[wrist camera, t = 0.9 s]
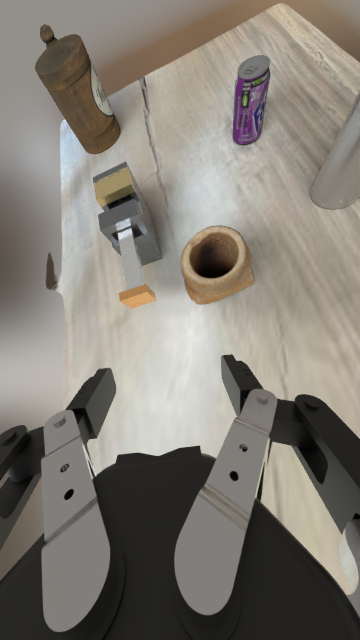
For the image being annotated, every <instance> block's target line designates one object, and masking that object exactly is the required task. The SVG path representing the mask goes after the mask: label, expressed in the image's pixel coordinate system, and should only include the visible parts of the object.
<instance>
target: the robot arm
mask: <svg viewBox="0 0 360 640" xmlns="http://www.w3.org/2000/svg"><path fill="white" fill-rule="evenodd" d="M310 196H311V199H312V200H313V202H314V203H315V204H317V205H318V206H320V207H323V208H327V209H340V208H344V207H347V206H349V205H351V204H353V203H354V202H355V201H356V200H357V199H358V198H359V197H360V91H359V93H358V96H357V98H356V100H355V102H354V104H353V106H352V108H351V110H350V112H349V114H348V116H347V118H346V120H345V122H344V124H343V126H342V128H341V130H340V132H339V134H338V136H337V138H336V140H335V142H334V144H333V146H332V148H331V150H330V152H329V154H328V156H327V158H326V160H325V162H324V164H323V166H322V168H321V169H320V171H319V173H318V175H317V177H316V179H315V181H314V184H313V186H312V188H311V190H310ZM221 368H222V379H223V383H224V385H225V388H226V390H227V393H228V395H229V398H230V400H231V403H232V405H233V408H234V410H235V412H236V415H237V417H238V418H237V417H236V418H235V419H234V421H233V423H232V425H231V428H230V430H229V432H228V434H227V437H226V439H225V441H224V443H223V446H222V448H221V450H220V452H219V455H218V457H217V459H216V458H214V457H212V456H210V455H207V454H203V453H201V450H200V446H193V447H184V448H178V449H176V450H173V451H171V452H168V453H166V454H163V455H161V456H154V455H148V454H143V453H131V454H122V455H118V456H117V460H116V463H115V464H113V465H111V466H109V467H107V468H106V469H104V470H103V471H101V472H100V473H99V474H96V471H95V468H94V465H93V462H92V459H91V456H90V452H89V449H88V446H87V442H88V440H89V439H95V438H97V437H98V434H99V432H100V430H101V427H102V425H103V422H104V420H105V418H106V415H107V413H108V411H109V408H110V406H111V403H112V401H113V399H114V396H115V394H116V384H115V381H114V377H113V373H112V370H111V368H103V369H98V370H97V372H96V373H95V375H94V376H93V377H91V378H89V379H88V380H87V381H86V382H85V383H84V384H83V386H82V387H81V389H80V390H79V391H78V393H77V394H76V395H75V397H74V398H73V400H72V401H71V403H70V404H69V405H68V407H67V408H66V410H64V411H61V412H59V413H57V414H56V415H54V416H52V417H51V418H50V419H49V420H48V421H47V422H46V423H45V425H44V426H43V427H40V428H37V429H34V430H31V431H28V429H27V428H26V426H24V425H20V426H16V427H13V428H11V429H9V430H7V431H5V432H4V433H2V434H1V435H0V480H1V479H2V478H3V476H4V475H5V473H7V475H8V476H9V477H8V479H7V480H6V482H5V483H4V485H3V486H2V487H1V489H0V550H1V548H2V546H3V545H4V543H5V541H6V539H7V537H8V536H9V534H10V532H11V530H12V528H13V526H14V525H15V523H16V521H17V519H18V517H19V515H20V514H21V512H22V510H23V508H24V507H25V505H26V503H27V501H28V499H29V497H30V495H31V494H32V492H33V490H34V488H35V487H36V485H37V483H38V481H39V479H40V478H41V476H42V492H43V514H44V533H43V534H42V536H41V537H40V538H39V539H38V540H37V541H36V542H35V543H34V544H33V545H32V547H31V548H30V549H29V550H28V551H27V552H26V553H25V554H24V555H23V556H22V558H21V559H20V560H19V561H18V562H17V563H16V564H15V565H14V566H13V568H12V569H11V570H10V571H9V572H8V573H7V574H6V575H5V577H3V579H2V580H1V581H0V640H360V439H359V438H358V437H357V436H356V435H355V434H354V433H353V431H352V430H351V429H350V428H349V427H348V426H347V425H346V424H345V423H344V422H343V421H342V420H341V419H340V418H339V417H338V416H337V415H336V414H335V413H334V412H333V411H332V410H331V409H330V408H329V407H328V405H327V404H326V403H324V402H323V401H322V400H320V399H319V398H317V397H314V396H311V395H306V394H302V395H298V396H297V397H296V398H295V402H294V401H287V400H281V399H277V398H276V397H275V395H274V394H272V393H271V392H269V391H267V390H264V389H263V387H262V386H261V385H260V383H259V382H258V380H257V379H256V377H255V376H254V375H253V373H252V371H251V370H250V369H249V367H248V366H247V364H245V363H244V362H242V361H236V360H235V358H234V356H233V355H232V354H231V355H223V356H221ZM273 442H277V443H282V444H287V445H291V446H292V448H293V449H294V451H295V453H296V455H297V456H298V458H299V460H300V462H301V463H302V465H303V467H304V469H305V470H306V472H307V474H308V476H309V478H310V479H311V481H312V483H313V485H314V486H315V488H316V490H317V492H318V493H319V495H320V497H321V499H322V500H323V502H324V504H325V506H326V508H327V509H328V511H329V513H330V515H331V516H332V518H333V520H334V522H335V523H336V525H337V527H338V529H339V530H340V532H341V534H342V536H341V539H340V541H339V545H338V553H339V558H340V561H341V564H342V566H343V569H344V571H345V574H346V576H347V579H348V583H349V589H350V595H346V594H345V593H344V591H343V590H342V589H341V587H340V586H339V584H338V583H337V582H336V581H335V579H334V578H333V577H332V576H331V575H330V573H329V572H328V571H327V570H326V569H325V568H324V567H323V566H322V565H321V564H320V563H319V562H318V561H317V560H316V559H315V558H314V557H313V556H312V555H311V553H310V552H309V551H308V550H307V549H306V548H305V547H304V546H303V545H302V544H301V543H300V542H299V541H298V540H297V539H296V538H295V537H294V536H293V535H292V534H291V533H290V532H289V531H288V530H287V529H286V528H285V527H284V525H283V524H282V523H281V522H280V521H279V520H278V519H277V518H276V517H275V516H274V515H273V514H272V513H271V512H270V511H269V510H268V509H267V508H266V507H265V506H264V505H263V504H262V503H261V502H262V497H263V492H264V486H265V480H266V474H267V468H268V463H269V458H270V453H271V448H272V443H273Z"/></svg>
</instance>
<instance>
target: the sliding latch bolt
mask: <svg viewBox="0 0 360 640" xmlns="http://www.w3.org/2000/svg"><path fill="white" fill-rule="evenodd" d="M117 233H118V239H119V245H120V251H121V256H122V262H123V268H124V274H125V280H126V286H127V291H124V292H121V293H119V297H120V301H121V302H122V303H124V304H126V305H127V306H129V307H130V308H135V307H138V306H141V305H144V304H147V303H150V302H153V301H155V300H156V297H155V293H154V292H153V291H152V290H151V289H150V288H149V287H148V286H147V285H146V284H145V280H144V275H143V270H142V265H141V260H140V255H139V251H138V246H137V241H136V236H135V231H134V226H133V225H131V226H128V227H126V228H124V229H121V230H119V231H117Z"/></svg>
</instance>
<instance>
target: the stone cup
mask: <svg viewBox="0 0 360 640" xmlns="http://www.w3.org/2000/svg"><path fill="white" fill-rule="evenodd" d="M180 265H181V271H182V274H183V276H184V279H185V286H186V290H187V292H188V294H189V296H190V298H191V299H192V300H193V301H195V302H196V303H197V304H201V305H202V304H209V303H212V302H216V301H218V300H221V299H223V298H225V297H227V296H229V295H232V294H234V293H236V292H238V291H240V290H242V289H244V288H246V287H248V286H250V285H252V284H254V277H253V273H252V269H251V255H250V251H249V249H248V247H247V245H246V243H245V241H244V239H243V237H242V236H241V234H240V233H239V232H237V231H236V230H234V229H233V228H230V227H226V226H220V225H219V226H211V227H208V228H206V229H204V230H202V231H200V232H199V233H197V234H196V235H195V236H194V237H193V238H192V239H191V240H190V241H189V242H188V243H187V245H186V246H185V248H184V250H183V252H182V255H181V263H180Z"/></svg>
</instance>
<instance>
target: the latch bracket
mask: <svg viewBox="0 0 360 640" xmlns="http://www.w3.org/2000/svg"><path fill="white" fill-rule="evenodd" d="M93 183H94V187H95V194H96V201H97V202H98V203H99V204H100V206H101V207H102V208H103V210H104V211H105V212H103V213H101V214H99V215H98V217H99V225H100V231H101V232H102V233H103V234H104V235H105V236H106V237H107V238H108V239H109V240H110V242H111V243H112V246H113V248H114V249H115V250H116V251H117V252H118V253H119V254H120V255H121V251H120V245H119V239H118V233H117V231H119V230H121V229H124V228H126V227H128V226H131V225H133V226H134V231H135V236H136V241H137V246H138V251H139V255H140V260H141V265H142V266H143V265H146V264H148V263H151V262H154V261H156V260H159V259H162V257H161V253H160V249H159V245H158V241H157V237H156V233H155V229H154V225H153V221H152V217H151V213H150V211H149V209H148V207H147V204H146V202H145V200H144V198H143V196H142V194H141V192H140V190H139V188H138V186H137V184H136V181H135V179H134V177H133V175H132V173H131V171H130V169H129V167H128V165H127V163H126V162H124V163H122V164H120V165H118V166H116V167H114V168H112V169H110V170H108V171H106V172H103V173H101V174H99V175H97V176H95V177H93Z"/></svg>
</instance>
